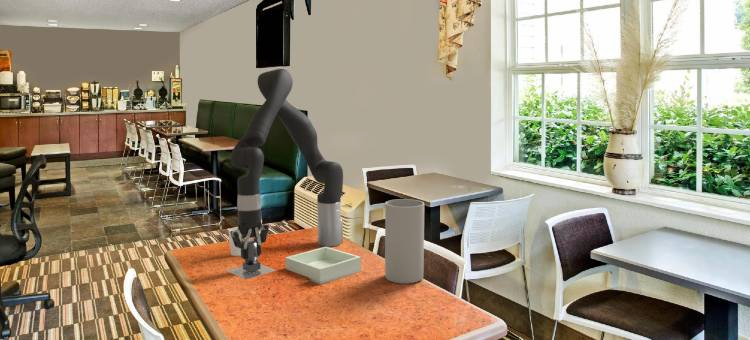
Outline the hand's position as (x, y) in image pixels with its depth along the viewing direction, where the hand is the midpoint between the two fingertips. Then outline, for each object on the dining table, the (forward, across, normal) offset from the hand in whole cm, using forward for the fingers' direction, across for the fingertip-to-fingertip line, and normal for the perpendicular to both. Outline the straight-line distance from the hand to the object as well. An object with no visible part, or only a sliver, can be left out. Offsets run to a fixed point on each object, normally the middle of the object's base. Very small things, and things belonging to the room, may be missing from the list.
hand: (251, 257), depth 179 cm
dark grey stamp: (+4, 0, 0) cm, 4 cm away
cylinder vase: (+6, -32, +40) cm, 51 cm away
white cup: (+6, -8, -20) cm, 22 cm away
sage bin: (+6, -18, +16) cm, 25 cm away
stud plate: (+6, 0, 0) cm, 6 cm away
